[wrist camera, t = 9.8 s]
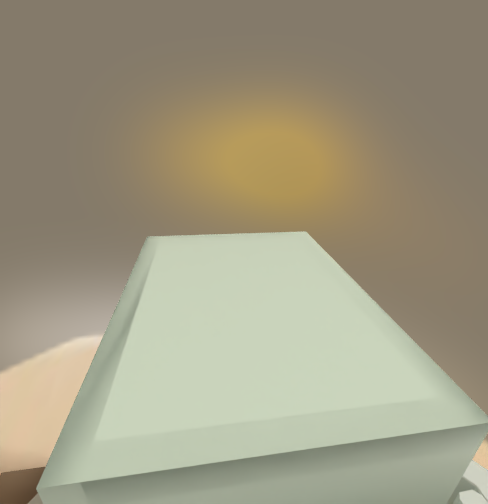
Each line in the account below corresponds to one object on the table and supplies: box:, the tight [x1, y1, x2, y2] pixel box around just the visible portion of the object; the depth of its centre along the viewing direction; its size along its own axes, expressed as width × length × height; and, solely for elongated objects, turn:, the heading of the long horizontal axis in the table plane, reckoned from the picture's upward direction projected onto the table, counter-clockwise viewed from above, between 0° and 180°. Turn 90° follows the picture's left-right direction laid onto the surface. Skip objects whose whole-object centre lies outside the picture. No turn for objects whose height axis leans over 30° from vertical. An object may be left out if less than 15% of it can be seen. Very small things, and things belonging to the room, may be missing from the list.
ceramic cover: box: [36, 232, 488, 504], centre depth 10 cm, size 6×8×10 cm
